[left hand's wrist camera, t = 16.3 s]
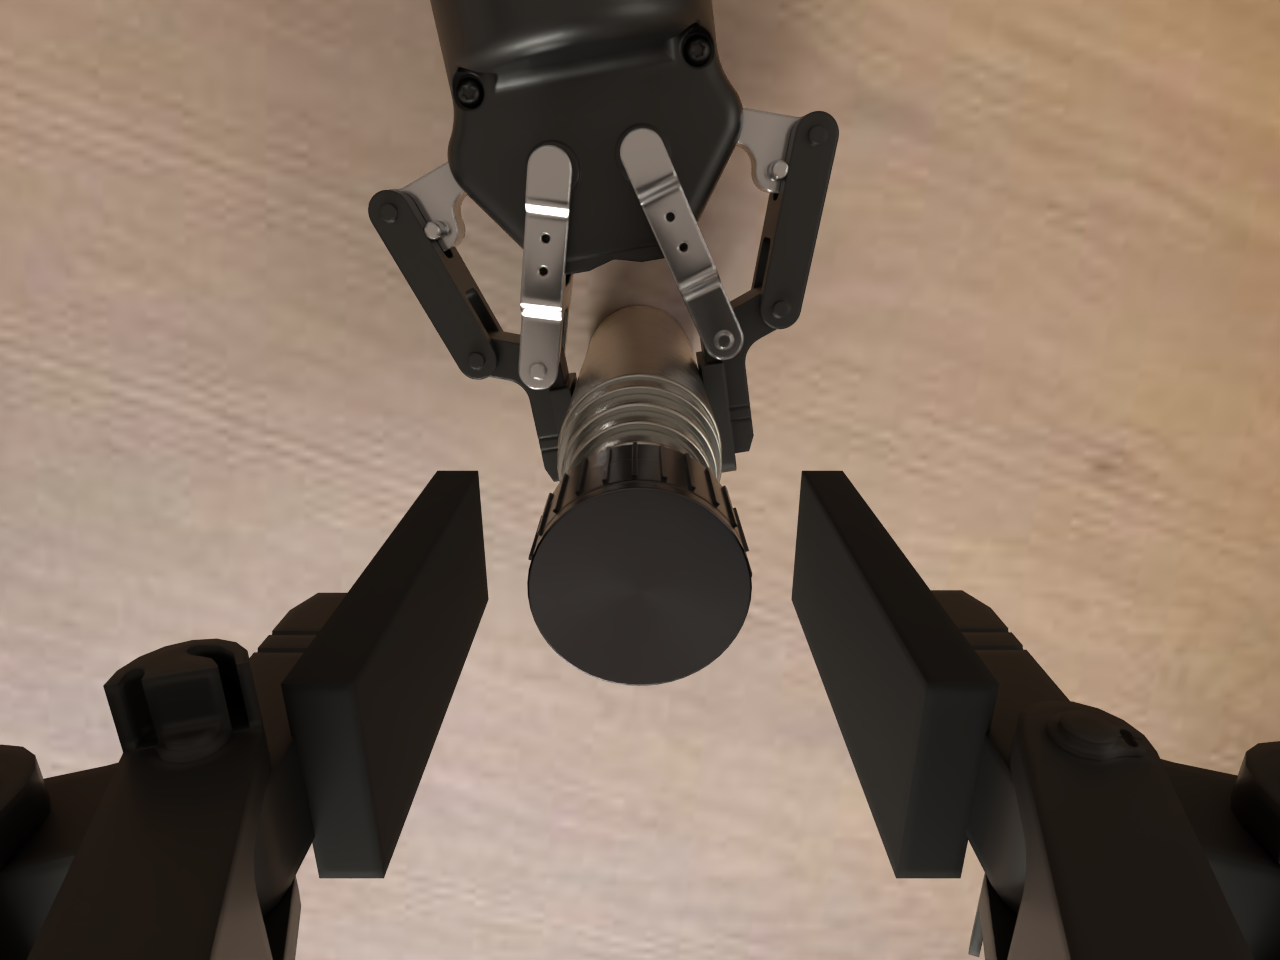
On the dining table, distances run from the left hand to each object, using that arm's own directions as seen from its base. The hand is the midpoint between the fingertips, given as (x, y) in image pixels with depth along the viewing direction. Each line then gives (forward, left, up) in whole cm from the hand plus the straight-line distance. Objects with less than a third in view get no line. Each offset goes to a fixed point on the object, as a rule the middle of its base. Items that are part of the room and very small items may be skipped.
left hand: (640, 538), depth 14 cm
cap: (0, 0, +2) cm, 2 cm away
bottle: (0, 0, -17) cm, 17 cm away
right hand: (-2, +2, -11) cm, 11 cm away
